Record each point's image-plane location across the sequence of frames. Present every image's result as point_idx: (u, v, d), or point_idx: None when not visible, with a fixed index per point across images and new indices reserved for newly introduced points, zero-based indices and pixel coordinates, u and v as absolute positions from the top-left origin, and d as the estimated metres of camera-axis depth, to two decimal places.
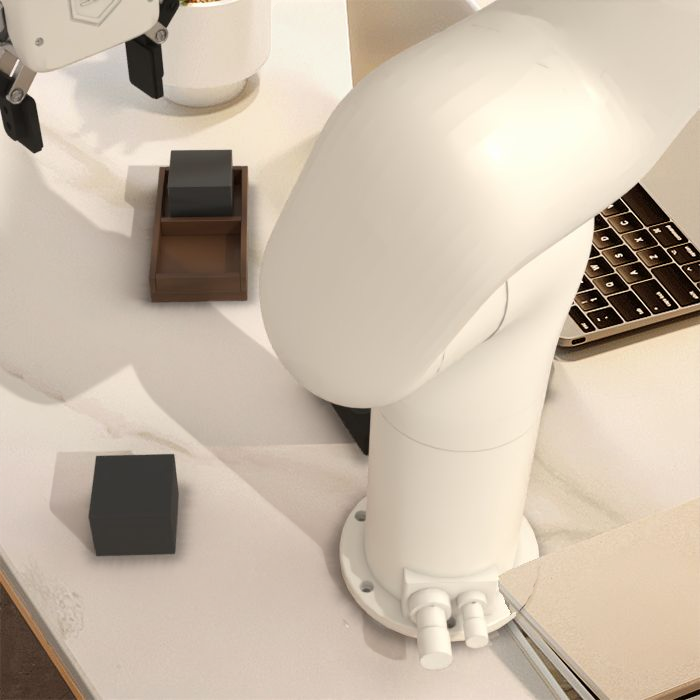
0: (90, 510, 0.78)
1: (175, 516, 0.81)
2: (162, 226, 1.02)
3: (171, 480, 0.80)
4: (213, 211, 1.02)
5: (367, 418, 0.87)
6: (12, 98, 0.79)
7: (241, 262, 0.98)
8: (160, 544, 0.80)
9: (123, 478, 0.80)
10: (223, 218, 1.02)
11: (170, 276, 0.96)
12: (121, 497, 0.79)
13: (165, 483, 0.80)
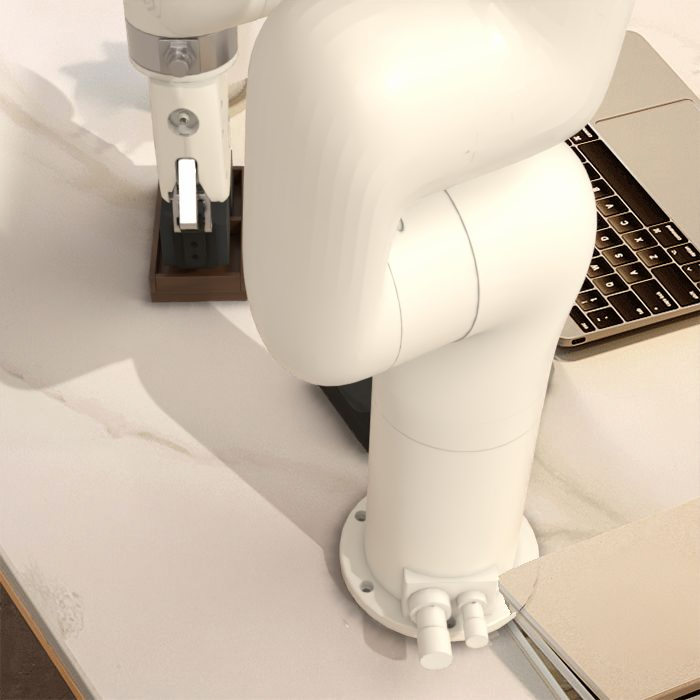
0: (160, 220, 0.95)
1: None
2: None
3: (226, 201, 0.97)
4: None
5: (370, 416, 0.87)
6: None
7: (241, 262, 0.98)
8: None
9: None
10: None
11: (170, 276, 0.96)
12: None
13: (221, 203, 0.96)
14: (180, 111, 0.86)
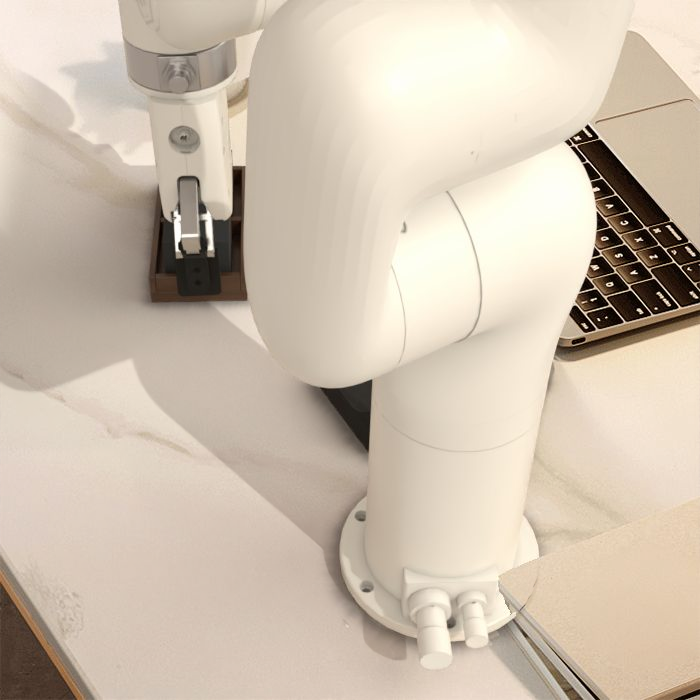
0: (163, 238, 0.96)
1: None
2: (162, 226, 1.02)
3: (228, 219, 0.98)
4: None
5: (370, 415, 0.87)
6: None
7: (241, 262, 0.98)
8: None
9: None
10: None
11: (170, 276, 0.96)
12: None
13: (224, 220, 0.97)
14: (181, 129, 0.85)
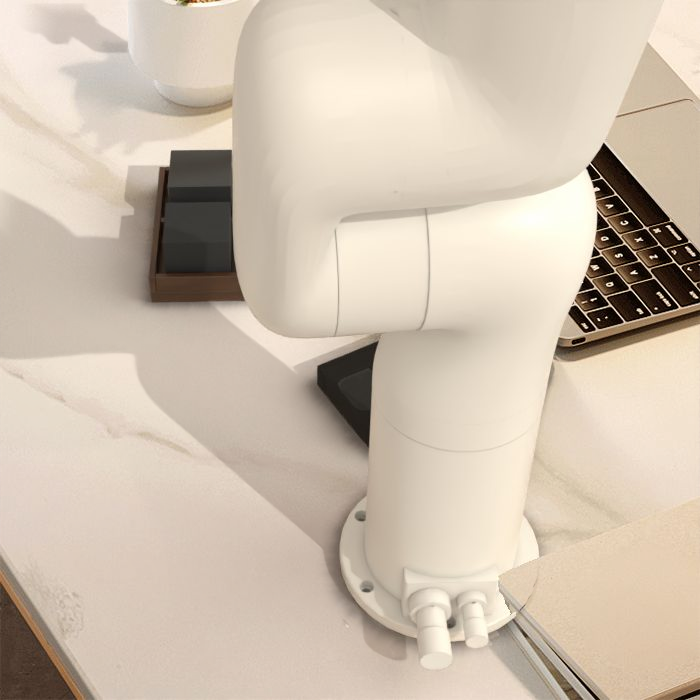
0: (163, 239, 0.96)
1: None
2: (162, 226, 1.02)
3: (228, 219, 0.98)
4: None
5: None
6: None
7: None
8: (219, 271, 0.98)
9: (189, 217, 0.98)
10: None
11: (170, 276, 0.96)
12: (188, 230, 0.96)
13: (224, 221, 0.97)
14: None
